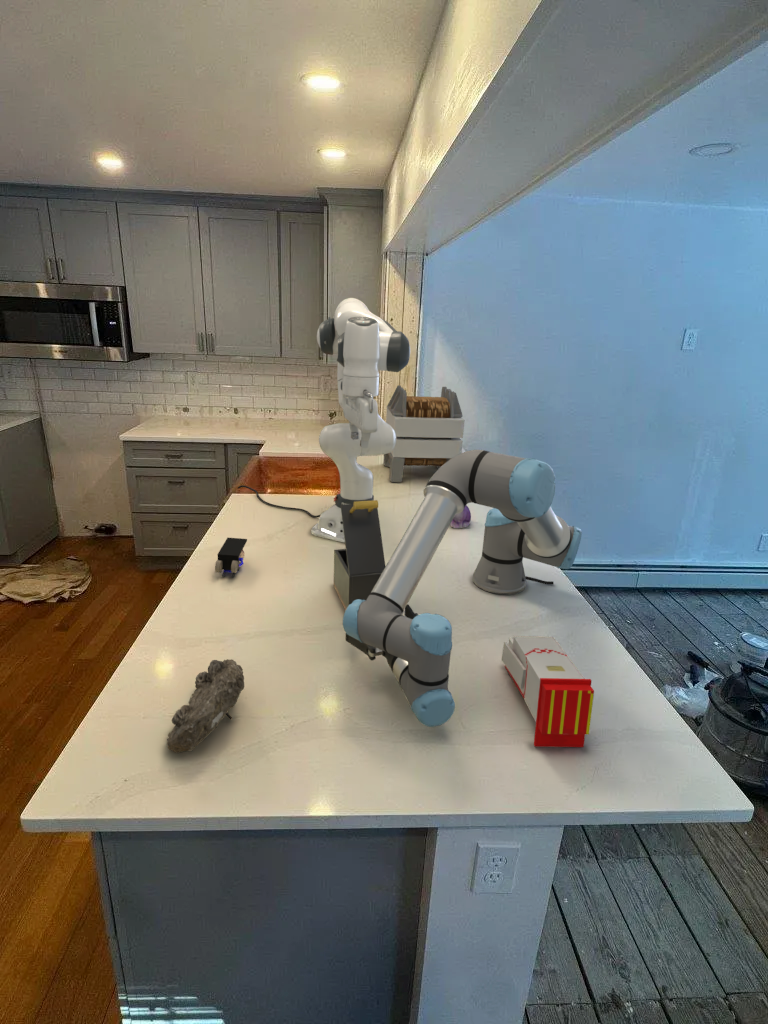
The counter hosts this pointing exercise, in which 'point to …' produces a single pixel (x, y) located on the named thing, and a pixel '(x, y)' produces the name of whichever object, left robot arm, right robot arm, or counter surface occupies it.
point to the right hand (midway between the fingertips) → (379, 612)
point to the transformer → (423, 430)
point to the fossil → (206, 705)
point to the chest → (351, 581)
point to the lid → (363, 538)
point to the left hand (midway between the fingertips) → (359, 443)
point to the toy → (550, 690)
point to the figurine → (461, 519)
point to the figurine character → (230, 556)
